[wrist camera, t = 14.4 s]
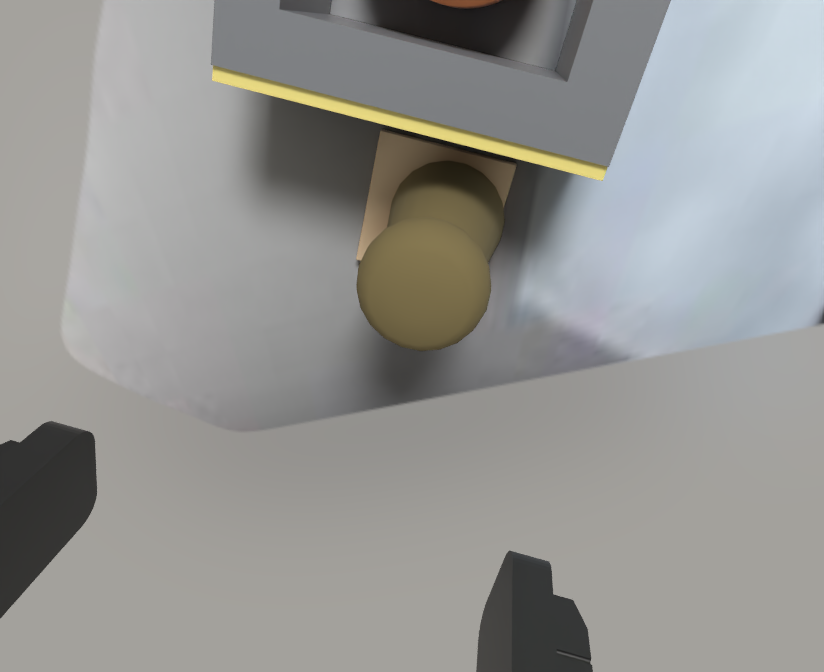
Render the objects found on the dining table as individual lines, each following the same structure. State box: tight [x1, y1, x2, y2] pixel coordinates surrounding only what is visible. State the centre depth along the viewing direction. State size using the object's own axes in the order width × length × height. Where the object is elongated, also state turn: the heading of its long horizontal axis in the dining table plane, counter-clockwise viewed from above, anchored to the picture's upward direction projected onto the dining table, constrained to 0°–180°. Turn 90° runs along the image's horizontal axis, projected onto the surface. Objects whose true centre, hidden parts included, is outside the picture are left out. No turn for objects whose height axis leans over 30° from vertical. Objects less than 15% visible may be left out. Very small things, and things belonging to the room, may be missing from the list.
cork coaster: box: [356, 129, 517, 261], centre depth 32 cm, size 7×7×1 cm
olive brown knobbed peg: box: [357, 160, 505, 351], centre depth 27 cm, size 6×6×11 cm
